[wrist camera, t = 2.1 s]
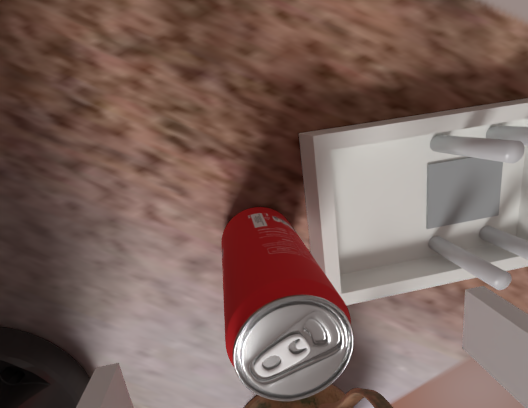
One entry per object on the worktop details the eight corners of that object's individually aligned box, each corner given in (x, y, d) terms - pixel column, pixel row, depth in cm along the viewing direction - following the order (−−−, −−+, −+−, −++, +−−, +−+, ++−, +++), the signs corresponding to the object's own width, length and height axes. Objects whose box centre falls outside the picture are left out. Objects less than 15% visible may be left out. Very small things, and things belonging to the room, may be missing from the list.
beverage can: (302, 244, 24) (381, 360, 12) (245, 280, 24) (272, 427, 13) (267, 189, 22) (321, 264, 11) (207, 227, 22) (197, 341, 11)
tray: (314, 284, 25) (349, 345, 18) (298, 133, 22) (335, 140, 15) (514, 243, 27) (613, 284, 20) (529, 97, 23) (654, 89, 17)
